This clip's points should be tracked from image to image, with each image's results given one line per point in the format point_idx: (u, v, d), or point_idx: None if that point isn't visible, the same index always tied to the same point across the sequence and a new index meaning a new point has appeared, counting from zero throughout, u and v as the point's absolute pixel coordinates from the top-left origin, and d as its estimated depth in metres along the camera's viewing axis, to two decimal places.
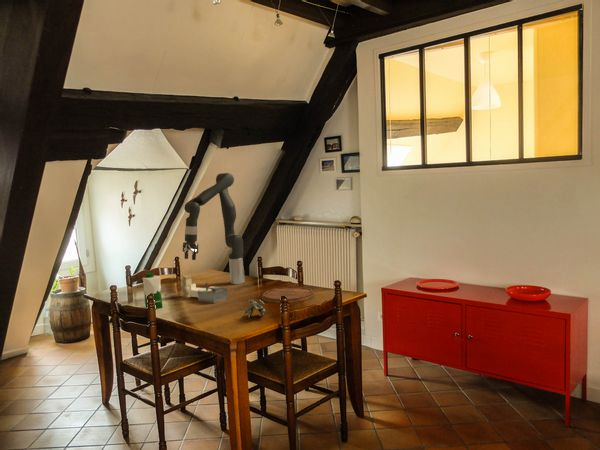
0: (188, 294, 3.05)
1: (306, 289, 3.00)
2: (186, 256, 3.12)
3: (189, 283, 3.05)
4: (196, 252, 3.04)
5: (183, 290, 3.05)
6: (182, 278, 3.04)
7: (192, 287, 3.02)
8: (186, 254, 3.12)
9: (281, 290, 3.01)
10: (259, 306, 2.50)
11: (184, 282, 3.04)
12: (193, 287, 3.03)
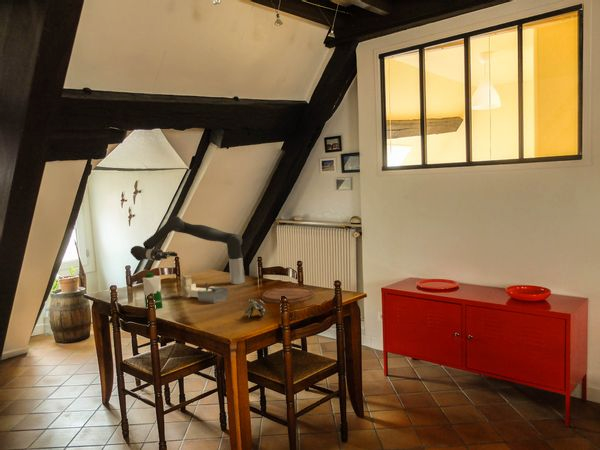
0: (188, 294, 3.05)
1: (306, 289, 3.00)
2: (174, 255, 3.14)
3: (189, 283, 3.05)
4: (157, 257, 3.07)
5: (183, 290, 3.05)
6: (182, 278, 3.04)
7: (192, 287, 3.02)
8: (173, 255, 3.15)
9: (281, 290, 3.01)
10: (259, 306, 2.50)
11: (184, 282, 3.04)
12: (193, 287, 3.03)
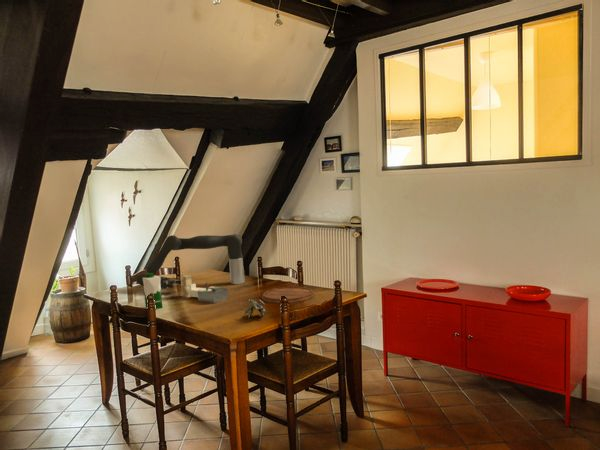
0: (188, 294, 3.05)
1: (306, 289, 3.00)
2: (180, 282, 3.15)
3: (189, 283, 3.05)
4: (163, 286, 3.08)
5: (183, 290, 3.05)
6: (182, 278, 3.04)
7: (192, 287, 3.02)
8: (179, 282, 3.15)
9: (281, 290, 3.01)
10: (259, 306, 2.50)
11: (184, 282, 3.04)
12: (193, 287, 3.03)
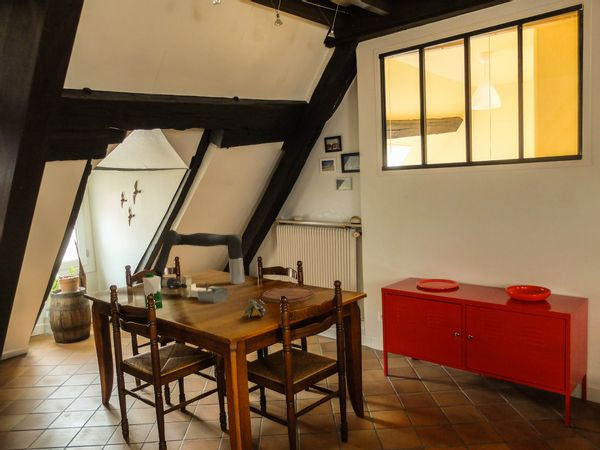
0: (188, 294, 3.05)
1: (306, 289, 3.00)
2: None
3: (189, 283, 3.05)
4: (177, 286, 3.03)
5: (183, 290, 3.05)
6: (182, 278, 3.04)
7: (192, 287, 3.02)
8: None
9: (281, 290, 3.01)
10: (259, 306, 2.50)
11: (184, 282, 3.04)
12: (193, 287, 3.03)
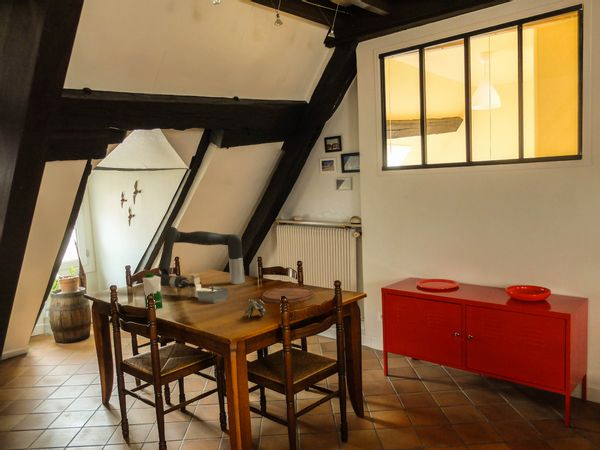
0: None
1: (306, 289, 3.00)
2: None
3: (197, 282, 3.01)
4: (185, 285, 2.99)
5: (191, 289, 3.01)
6: (190, 277, 3.00)
7: (197, 288, 3.00)
8: None
9: (281, 290, 3.01)
10: (259, 306, 2.50)
11: (192, 281, 2.99)
12: (198, 288, 3.00)
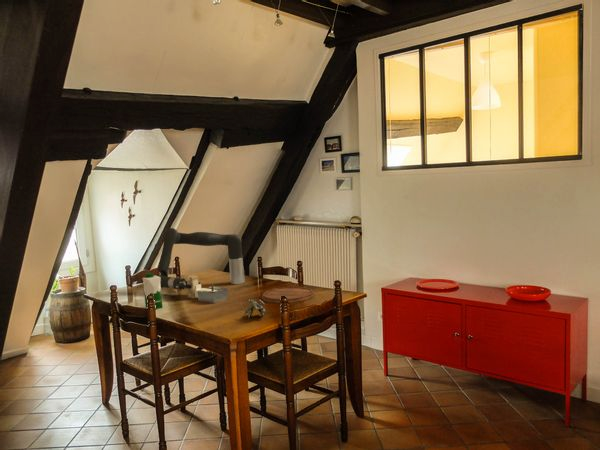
0: None
1: (306, 289, 3.00)
2: None
3: (196, 284, 3.02)
4: (182, 287, 2.99)
5: (190, 291, 3.02)
6: (189, 279, 3.01)
7: (197, 288, 3.00)
8: None
9: (281, 290, 3.01)
10: (259, 306, 2.50)
11: (191, 283, 3.00)
12: (198, 288, 3.00)
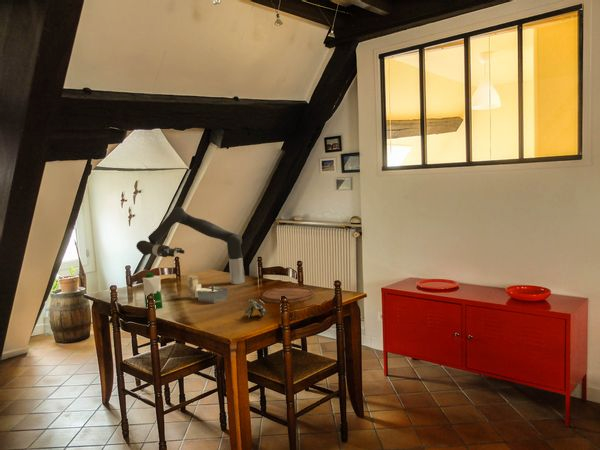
0: None
1: (306, 289, 3.00)
2: (181, 252, 3.11)
3: (196, 284, 3.02)
4: (164, 255, 3.04)
5: (190, 291, 3.02)
6: (189, 279, 3.01)
7: (197, 288, 3.00)
8: (180, 251, 3.12)
9: (281, 290, 3.01)
10: (259, 306, 2.50)
11: (191, 283, 3.00)
12: (198, 288, 3.00)
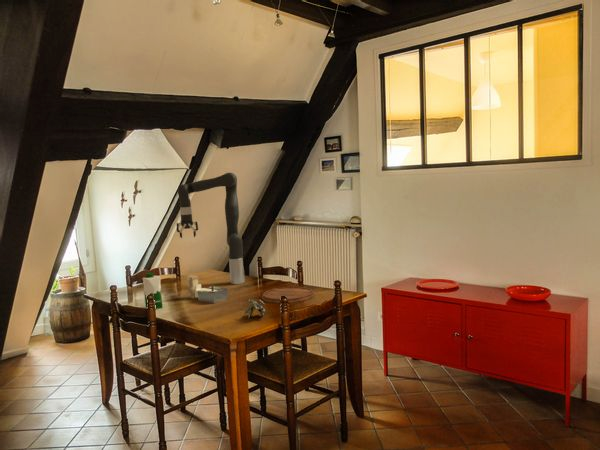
0: None
1: (306, 289, 3.00)
2: None
3: (196, 284, 3.02)
4: None
5: (190, 291, 3.02)
6: (189, 279, 3.01)
7: (197, 288, 3.00)
8: (193, 232, 3.35)
9: (281, 290, 3.01)
10: (259, 306, 2.50)
11: (191, 283, 3.00)
12: (198, 288, 3.00)
